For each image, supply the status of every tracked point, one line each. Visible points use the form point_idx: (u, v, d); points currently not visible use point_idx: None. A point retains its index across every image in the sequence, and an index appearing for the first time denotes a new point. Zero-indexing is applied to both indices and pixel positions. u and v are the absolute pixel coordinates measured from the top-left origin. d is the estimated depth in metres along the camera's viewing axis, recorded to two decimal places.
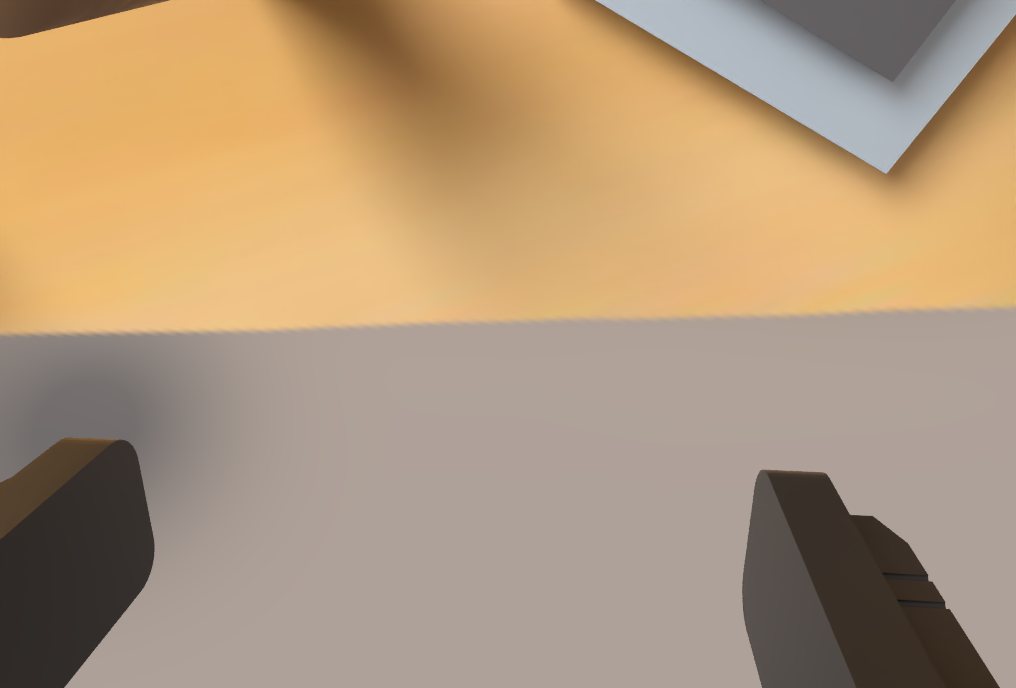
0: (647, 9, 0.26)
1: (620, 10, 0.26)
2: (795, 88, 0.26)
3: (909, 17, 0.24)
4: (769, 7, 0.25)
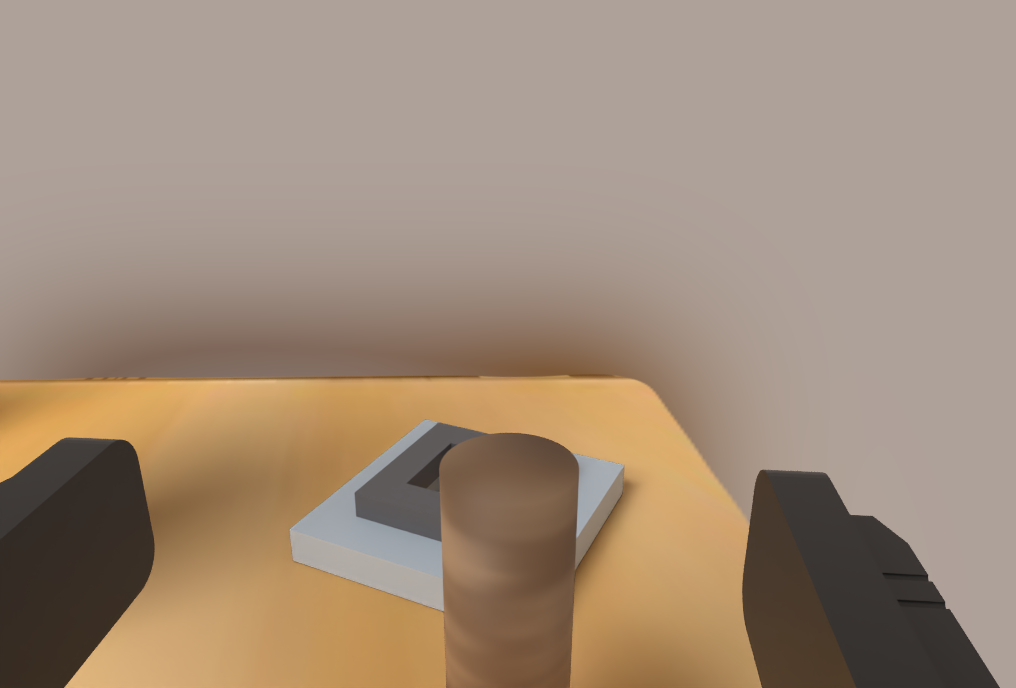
0: None
1: None
2: (586, 498, 0.44)
3: None
4: None
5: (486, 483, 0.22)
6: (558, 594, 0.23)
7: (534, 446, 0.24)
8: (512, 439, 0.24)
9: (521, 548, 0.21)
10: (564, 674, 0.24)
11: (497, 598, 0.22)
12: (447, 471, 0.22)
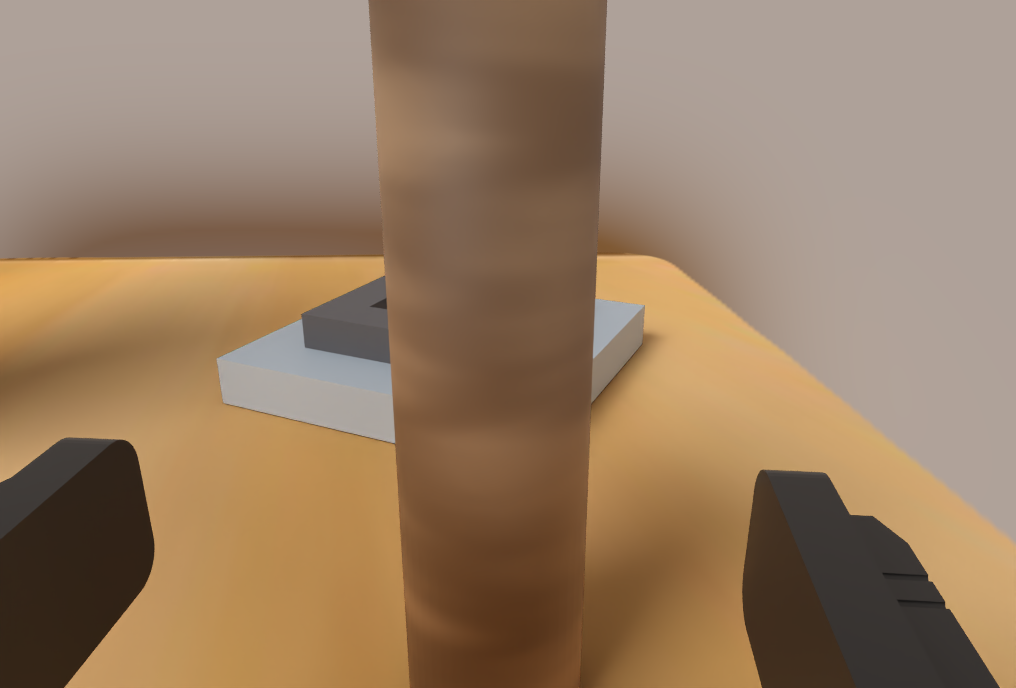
0: None
1: None
2: (598, 331, 0.35)
3: None
4: None
5: None
6: (573, 203, 0.13)
7: None
8: None
9: (508, 78, 0.12)
10: (582, 377, 0.15)
11: (467, 191, 0.13)
12: None
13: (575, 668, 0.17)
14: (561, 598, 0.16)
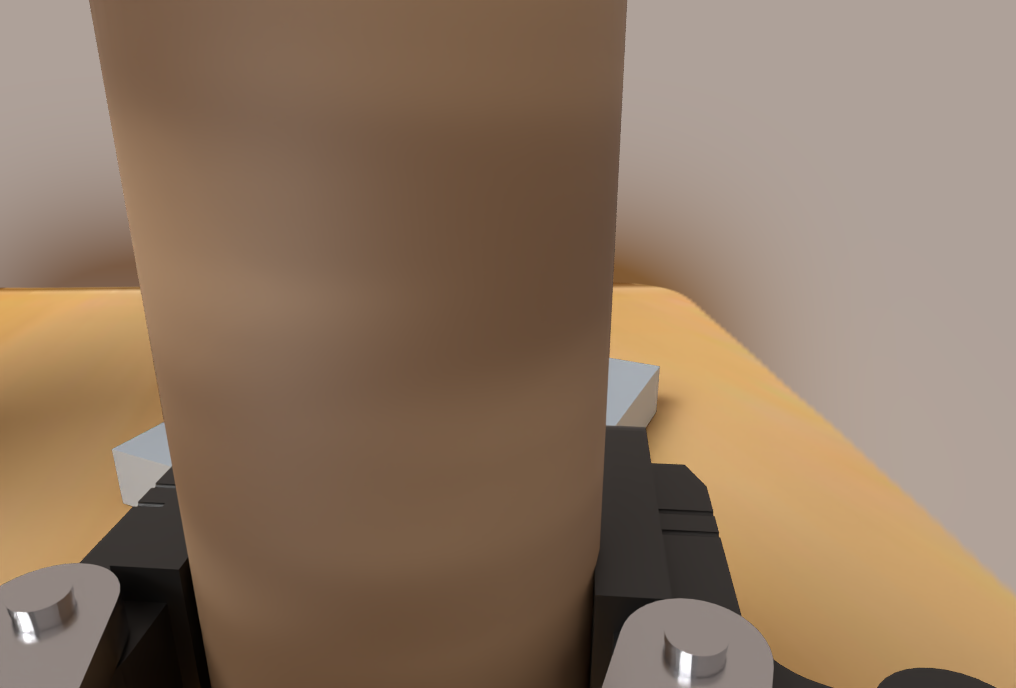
0: None
1: None
2: None
3: None
4: None
5: None
6: (552, 411, 0.06)
7: None
8: None
9: (384, 151, 0.05)
10: None
11: (300, 404, 0.05)
12: None
13: None
14: None
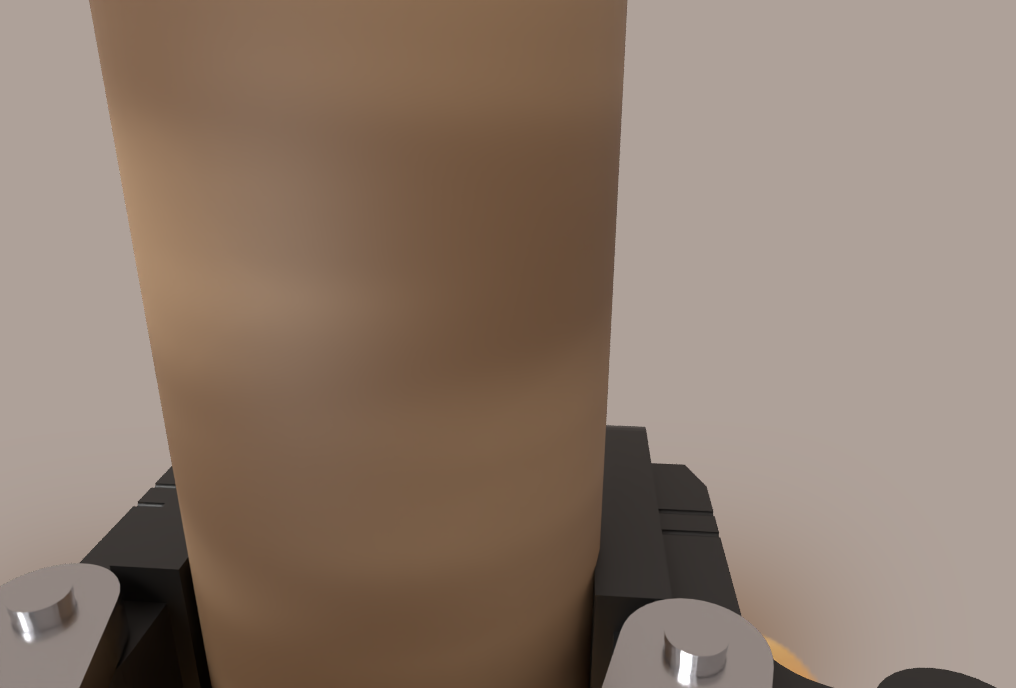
0: None
1: None
2: None
3: None
4: None
5: None
6: (552, 411, 0.06)
7: None
8: None
9: (384, 153, 0.05)
10: None
11: (300, 406, 0.05)
12: None
13: None
14: None
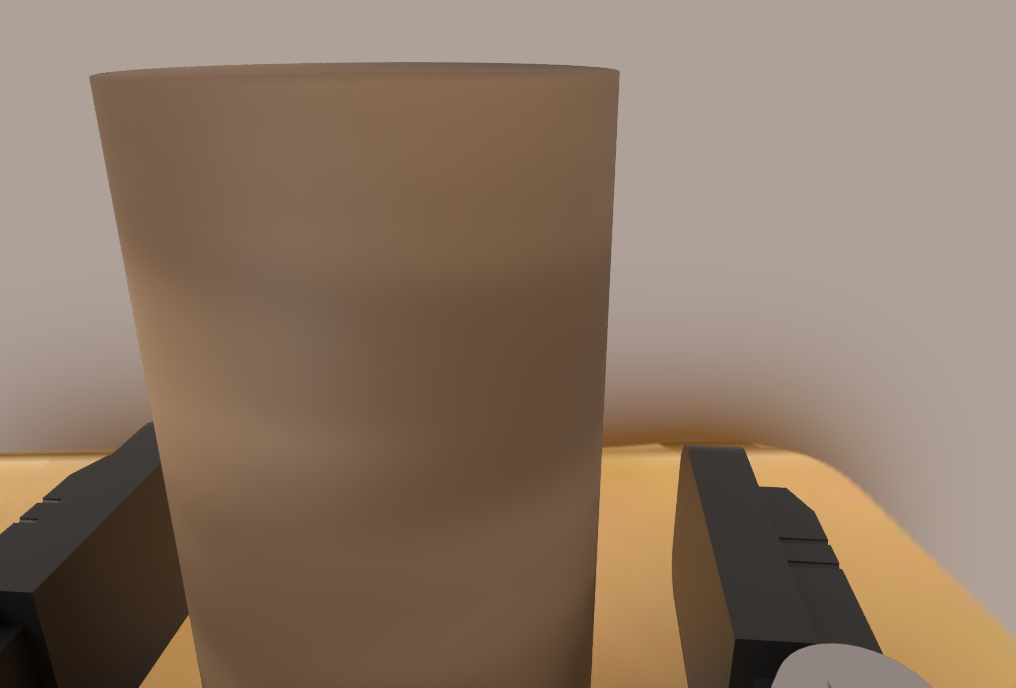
0: None
1: None
2: None
3: None
4: None
5: (257, 77, 0.05)
6: (545, 529, 0.06)
7: (469, 66, 0.07)
8: (406, 64, 0.08)
9: (382, 315, 0.05)
10: None
11: (305, 538, 0.06)
12: (132, 72, 0.06)
13: None
14: None
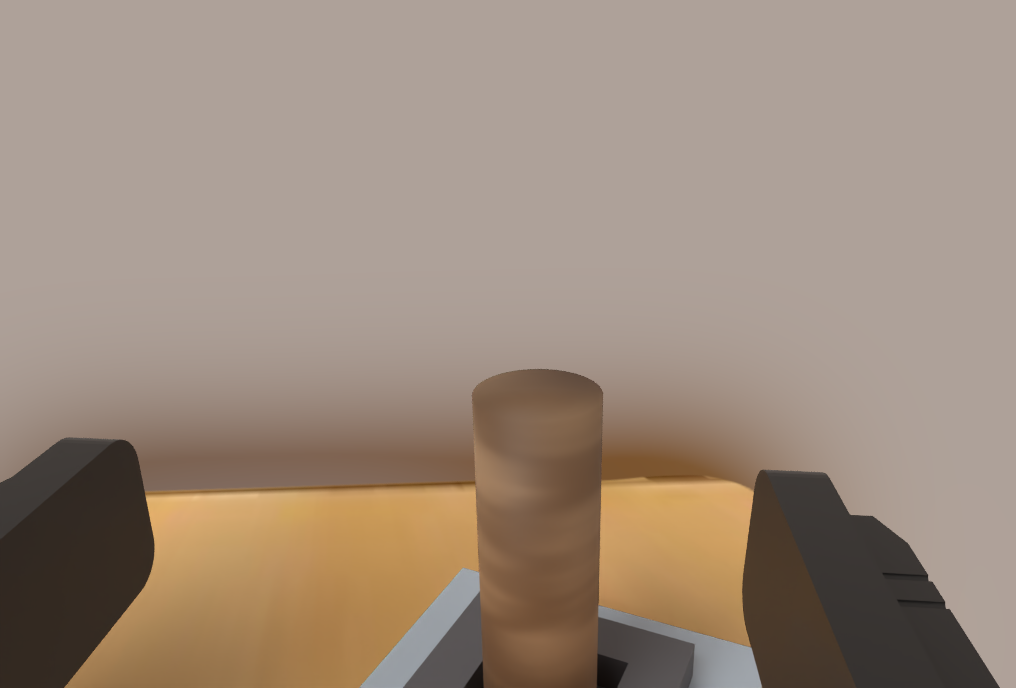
0: None
1: None
2: None
3: (645, 645, 0.30)
4: None
5: (517, 405, 0.23)
6: (585, 512, 0.24)
7: (559, 378, 0.25)
8: (539, 373, 0.26)
9: (551, 464, 0.23)
10: (593, 595, 0.26)
11: (529, 514, 0.23)
12: (479, 397, 0.24)
13: None
14: None
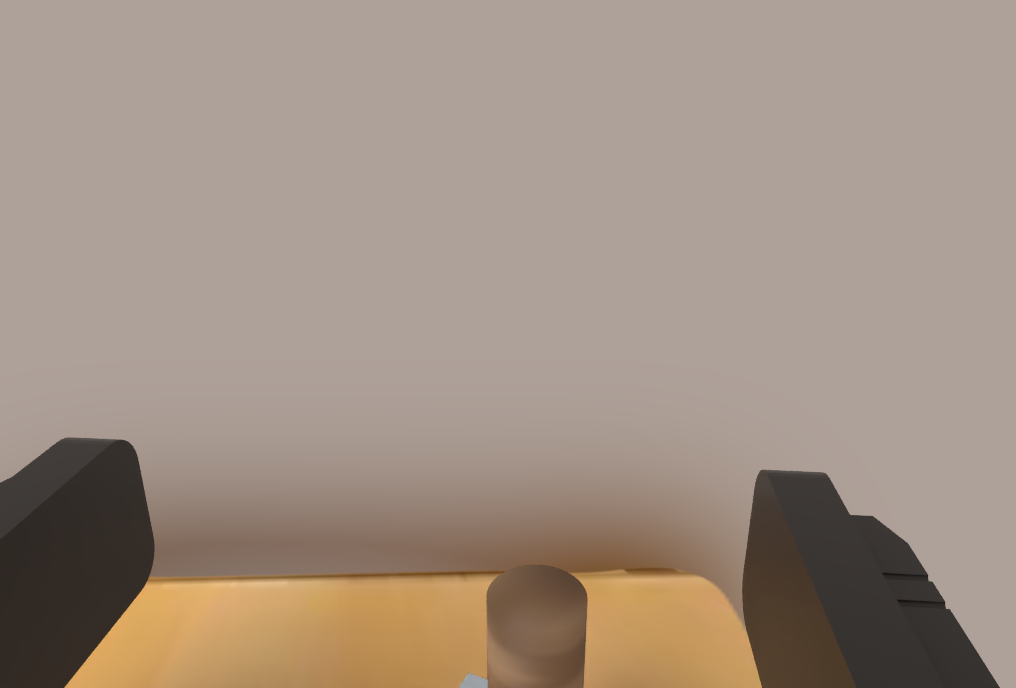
0: None
1: None
2: None
3: None
4: None
5: (521, 612, 0.30)
6: None
7: (554, 577, 0.32)
8: (538, 571, 0.33)
9: (546, 660, 0.30)
10: None
11: None
12: (492, 601, 0.31)
13: None
14: None
